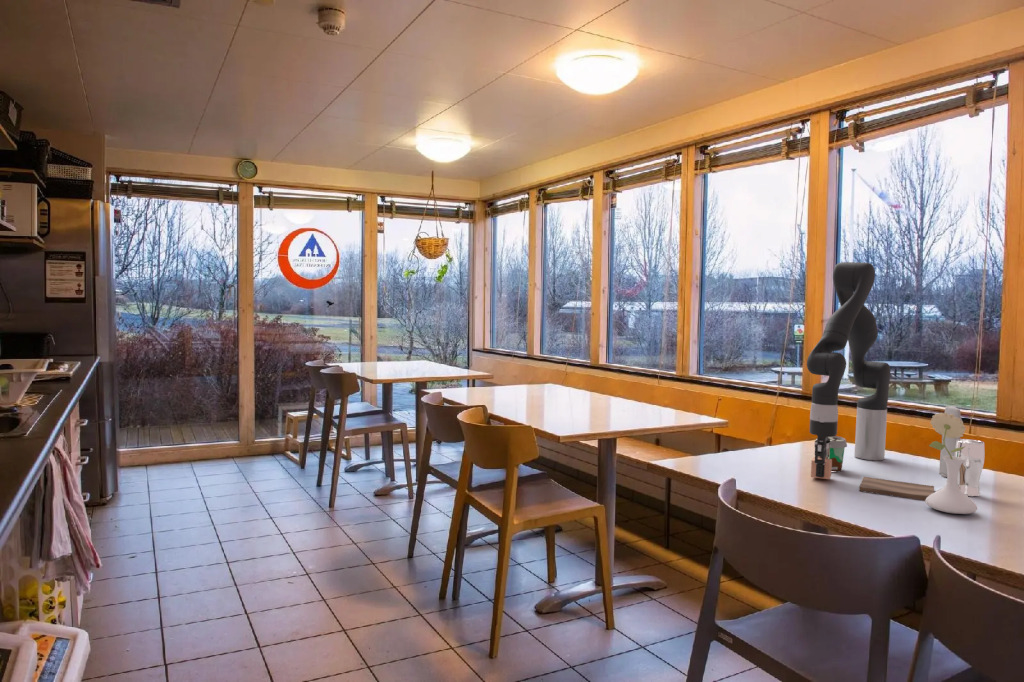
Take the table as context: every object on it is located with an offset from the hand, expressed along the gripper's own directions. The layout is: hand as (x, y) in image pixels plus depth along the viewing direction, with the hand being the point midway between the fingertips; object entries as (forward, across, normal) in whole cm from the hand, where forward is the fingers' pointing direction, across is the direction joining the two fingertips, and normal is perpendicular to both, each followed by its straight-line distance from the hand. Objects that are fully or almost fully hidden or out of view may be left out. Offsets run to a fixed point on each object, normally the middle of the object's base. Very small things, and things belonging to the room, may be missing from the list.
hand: (821, 474), depth 209 cm
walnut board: (+1, +1, +20) cm, 20 cm away
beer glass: (+2, -7, +37) cm, 38 cm away
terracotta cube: (0, 0, 0) cm, 0 cm away
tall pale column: (+2, -28, +33) cm, 43 cm away
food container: (+2, -17, +2) cm, 17 cm away
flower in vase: (+1, +15, +32) cm, 35 cm away
